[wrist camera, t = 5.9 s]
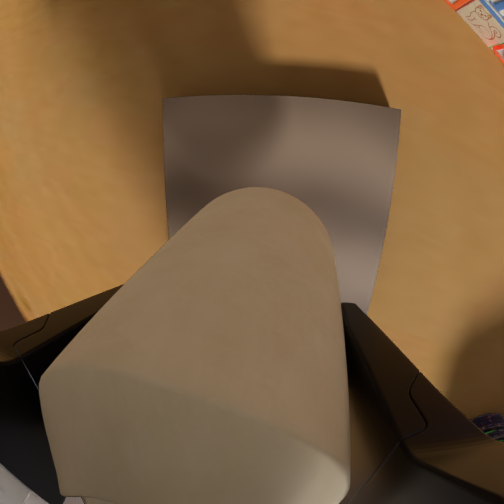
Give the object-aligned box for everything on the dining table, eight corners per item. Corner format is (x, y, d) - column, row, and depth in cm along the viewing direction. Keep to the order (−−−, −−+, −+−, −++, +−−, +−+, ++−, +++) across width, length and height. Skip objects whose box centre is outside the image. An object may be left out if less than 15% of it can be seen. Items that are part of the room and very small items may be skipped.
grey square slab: (362, 299, 20) (366, 317, 18) (186, 280, 21) (175, 296, 20) (391, 109, 14) (401, 109, 13) (177, 99, 16) (162, 98, 14)
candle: (248, 336, 13) (176, 563, 4) (162, 240, 12) (-21, 442, 3) (361, 275, 11) (399, 568, 2) (272, 152, 10) (37, 431, 1)
